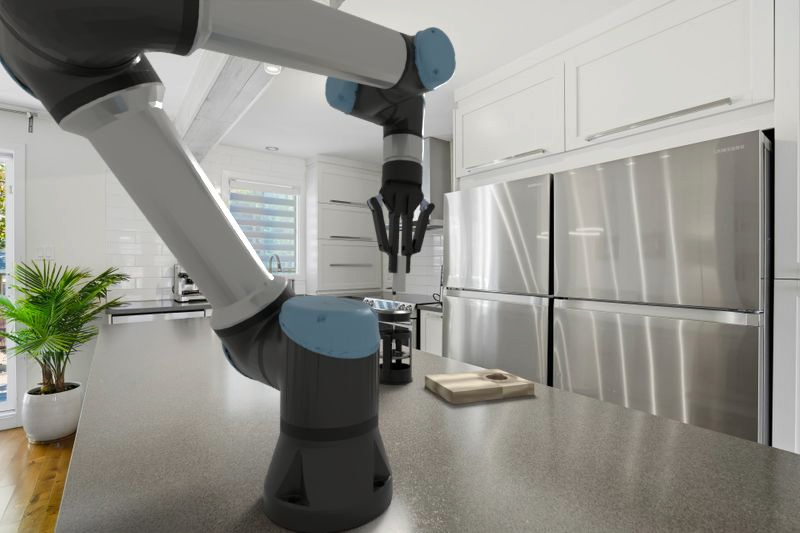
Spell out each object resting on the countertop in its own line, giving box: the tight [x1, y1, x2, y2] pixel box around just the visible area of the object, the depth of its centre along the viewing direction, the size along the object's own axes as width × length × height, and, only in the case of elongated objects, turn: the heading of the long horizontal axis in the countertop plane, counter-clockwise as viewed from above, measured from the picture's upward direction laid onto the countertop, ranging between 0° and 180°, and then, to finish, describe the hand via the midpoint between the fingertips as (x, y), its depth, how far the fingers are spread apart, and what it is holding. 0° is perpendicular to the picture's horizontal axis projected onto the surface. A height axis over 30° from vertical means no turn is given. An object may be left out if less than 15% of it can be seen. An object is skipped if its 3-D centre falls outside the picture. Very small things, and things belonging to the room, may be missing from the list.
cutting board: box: [424, 368, 535, 405], centre depth 94 cm, size 14×20×2 cm
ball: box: [490, 373, 506, 380], centre depth 95 cm, size 4×4×4 cm
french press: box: [375, 286, 414, 386], centre depth 102 cm, size 12×9×23 cm
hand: (398, 291), depth 75 cm, fingers closed
